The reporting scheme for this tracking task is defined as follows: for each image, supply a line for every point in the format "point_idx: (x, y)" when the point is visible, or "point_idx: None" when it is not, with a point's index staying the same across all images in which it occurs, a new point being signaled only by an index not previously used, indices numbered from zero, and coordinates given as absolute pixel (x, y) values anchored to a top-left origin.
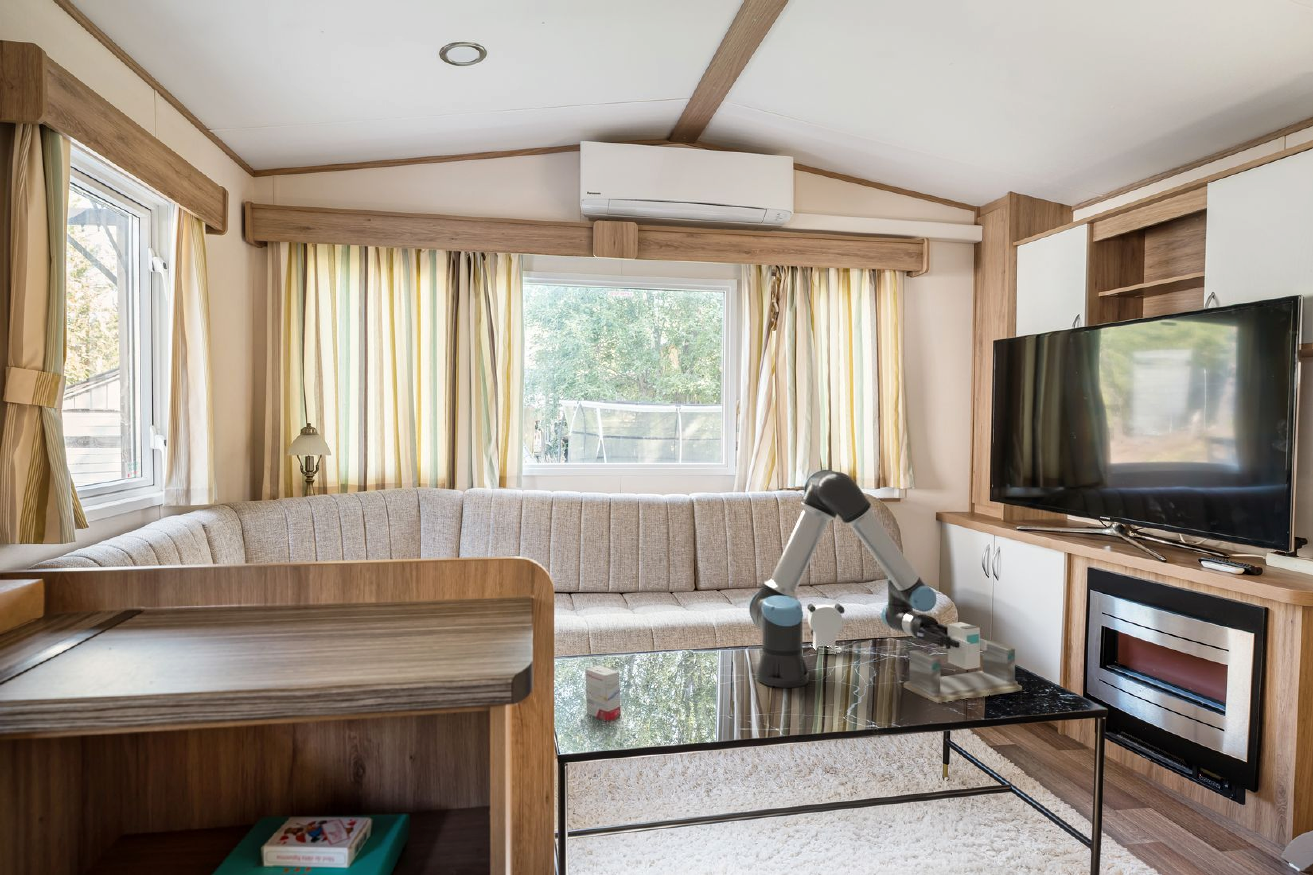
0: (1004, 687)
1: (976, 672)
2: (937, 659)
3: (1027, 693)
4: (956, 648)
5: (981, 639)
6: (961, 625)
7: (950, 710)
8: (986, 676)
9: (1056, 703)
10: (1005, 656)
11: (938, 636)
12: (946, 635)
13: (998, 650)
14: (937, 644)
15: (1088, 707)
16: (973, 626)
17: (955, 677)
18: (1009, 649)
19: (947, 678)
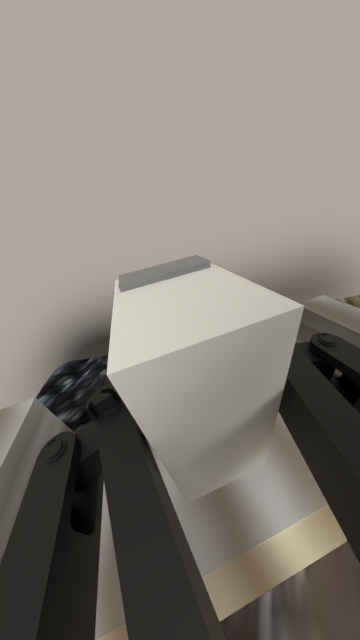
0: None
1: (103, 614)
2: (304, 302)
3: (85, 421)
4: None
5: None
6: (183, 293)
7: None
8: (107, 518)
9: (87, 375)
10: (49, 416)
11: (355, 354)
12: (294, 378)
13: (25, 447)
14: (343, 386)
15: (63, 365)
16: (136, 274)
17: (228, 508)
18: (17, 405)
19: (262, 493)
